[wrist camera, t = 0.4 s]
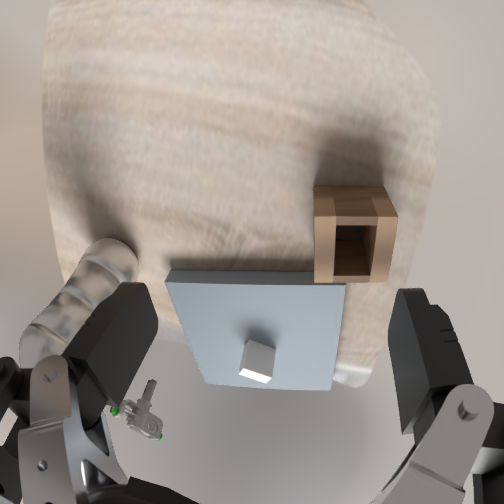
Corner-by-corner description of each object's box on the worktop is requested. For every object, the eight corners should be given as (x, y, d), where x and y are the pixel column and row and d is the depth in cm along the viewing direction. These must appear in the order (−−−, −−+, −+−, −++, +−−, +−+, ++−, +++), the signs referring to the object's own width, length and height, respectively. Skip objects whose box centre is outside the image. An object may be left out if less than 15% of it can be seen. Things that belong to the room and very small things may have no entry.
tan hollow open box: (313, 186, 25) (314, 216, 21) (383, 187, 24) (398, 216, 20) (314, 246, 29) (314, 282, 25) (377, 246, 27) (387, 282, 24)
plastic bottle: (116, 281, 36) (37, 421, 20) (86, 237, 32) (-17, 375, 17) (155, 272, 34) (74, 435, 18) (124, 222, 30) (9, 384, 14)
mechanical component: (136, 364, 48) (115, 413, 40) (178, 394, 52) (163, 441, 44) (127, 366, 49) (106, 413, 41) (168, 396, 53) (152, 441, 45)
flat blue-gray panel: (171, 269, 33) (150, 309, 28) (344, 271, 30) (348, 317, 25) (209, 372, 45) (199, 405, 40) (330, 378, 41) (329, 415, 37)
